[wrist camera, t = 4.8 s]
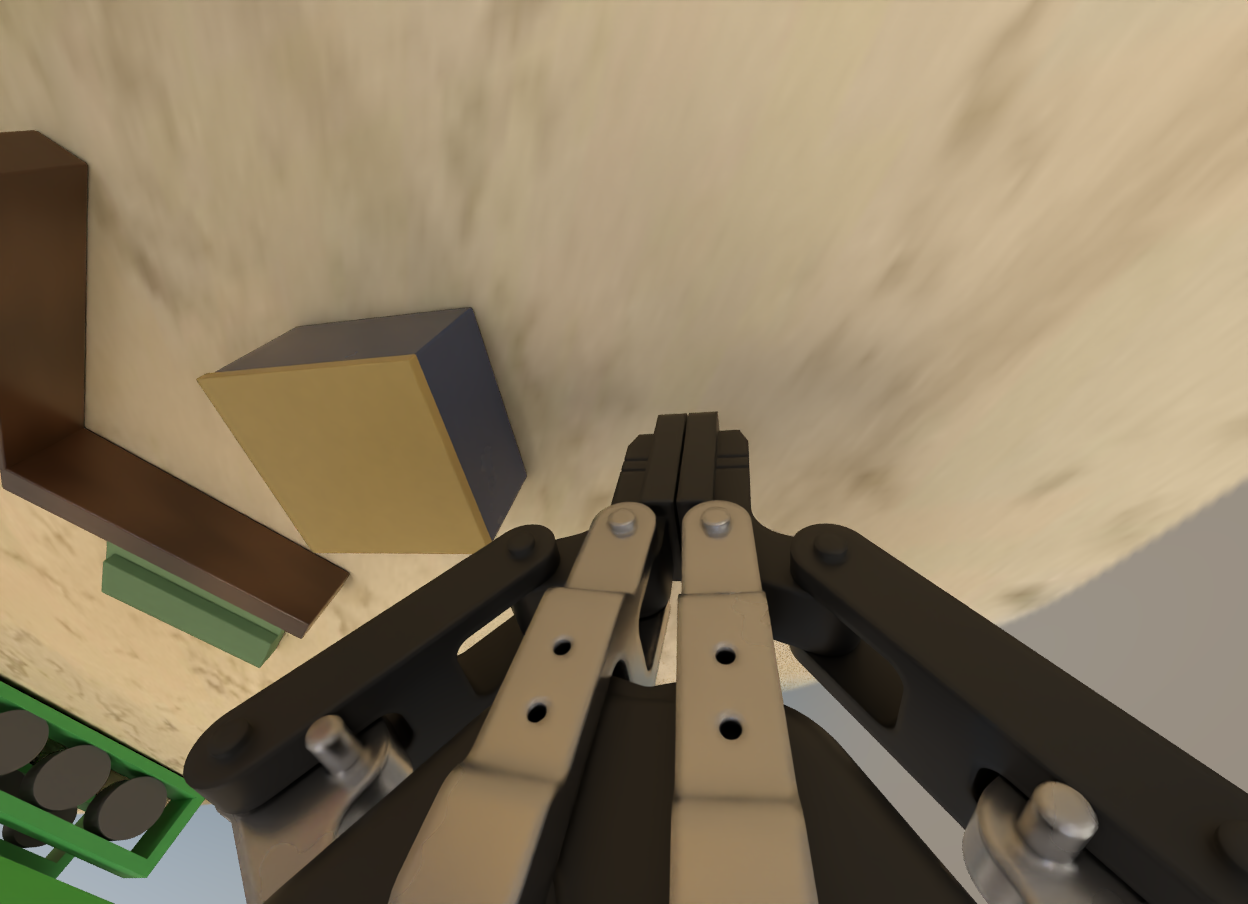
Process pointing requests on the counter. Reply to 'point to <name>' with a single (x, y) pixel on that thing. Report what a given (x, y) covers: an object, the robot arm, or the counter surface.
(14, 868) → the tank
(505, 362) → the counter surface
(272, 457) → the tea tin
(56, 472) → the corner guide
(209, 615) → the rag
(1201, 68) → the counter surface
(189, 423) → the counter surface
